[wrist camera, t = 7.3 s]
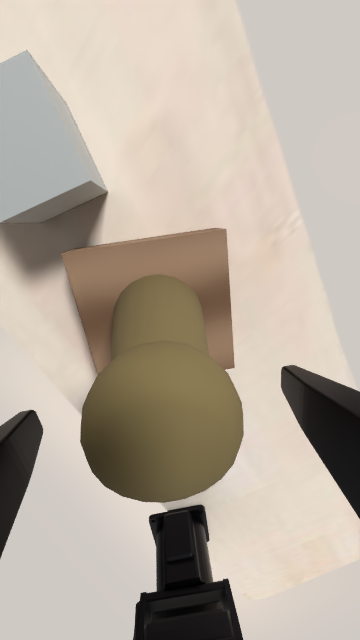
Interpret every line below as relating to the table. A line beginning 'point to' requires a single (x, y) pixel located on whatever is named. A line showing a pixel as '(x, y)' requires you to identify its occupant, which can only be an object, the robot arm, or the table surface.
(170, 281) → the olive game pawn
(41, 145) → the slate cube
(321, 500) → the table surface
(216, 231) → the walnut block
